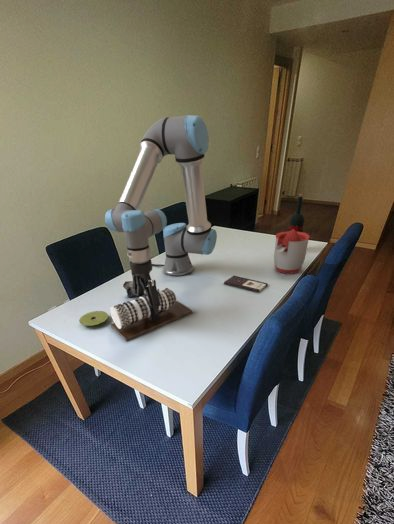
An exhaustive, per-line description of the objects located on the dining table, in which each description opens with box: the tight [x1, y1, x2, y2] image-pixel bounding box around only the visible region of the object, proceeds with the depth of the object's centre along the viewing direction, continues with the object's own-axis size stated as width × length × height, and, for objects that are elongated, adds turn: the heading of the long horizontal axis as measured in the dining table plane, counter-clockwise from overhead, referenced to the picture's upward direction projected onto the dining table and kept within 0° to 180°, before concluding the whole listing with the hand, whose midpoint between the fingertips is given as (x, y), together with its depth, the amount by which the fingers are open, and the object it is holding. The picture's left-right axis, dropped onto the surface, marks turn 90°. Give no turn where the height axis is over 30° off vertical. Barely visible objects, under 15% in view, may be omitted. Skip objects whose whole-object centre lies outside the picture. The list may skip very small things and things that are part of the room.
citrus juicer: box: [273, 229, 310, 275], centre depth 143 cm, size 16×17×20 cm
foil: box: [122, 280, 160, 298], centre depth 131 cm, size 12×11×15 cm
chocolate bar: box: [223, 275, 268, 293], centre depth 138 cm, size 9×1×18 cm
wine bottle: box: [287, 193, 305, 232], centre depth 161 cm, size 8×10×30 cm
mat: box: [78, 310, 109, 327], centre depth 117 cm, size 11×11×2 cm
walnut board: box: [110, 300, 193, 342], centre depth 116 cm, size 30×13×1 cm, turn 128°
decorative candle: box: [109, 287, 177, 329], centre depth 112 cm, size 9×9×25 cm
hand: (149, 316), depth 115 cm, fingers closed on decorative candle, 8 cm apart
